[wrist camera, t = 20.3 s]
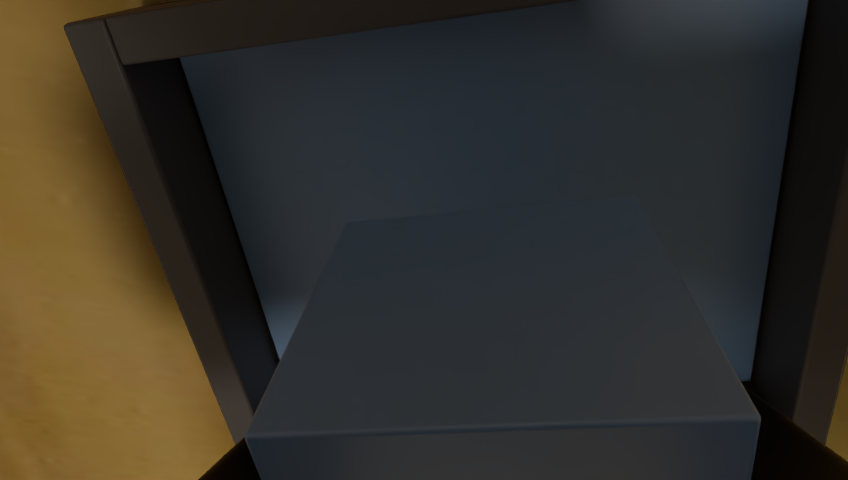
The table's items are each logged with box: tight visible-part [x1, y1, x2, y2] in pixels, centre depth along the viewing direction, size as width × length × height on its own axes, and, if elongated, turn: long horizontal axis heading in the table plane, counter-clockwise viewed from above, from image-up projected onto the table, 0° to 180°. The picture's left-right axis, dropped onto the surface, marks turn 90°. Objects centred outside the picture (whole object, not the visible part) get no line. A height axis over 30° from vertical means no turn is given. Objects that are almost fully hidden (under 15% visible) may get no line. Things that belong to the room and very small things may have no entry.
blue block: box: [245, 196, 761, 480], centre depth 8 cm, size 4×4×4 cm
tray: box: [64, 0, 848, 445], centre depth 15 cm, size 14×22×3 cm, turn 8°
